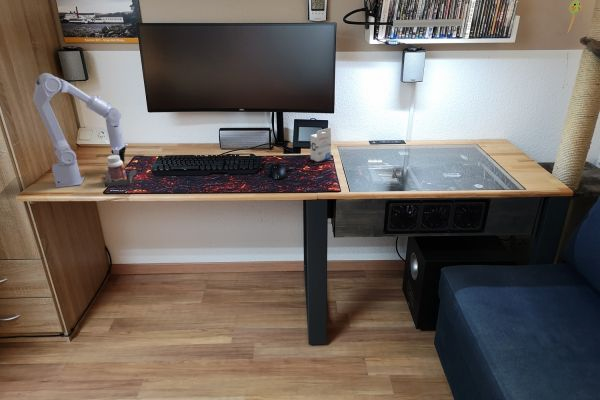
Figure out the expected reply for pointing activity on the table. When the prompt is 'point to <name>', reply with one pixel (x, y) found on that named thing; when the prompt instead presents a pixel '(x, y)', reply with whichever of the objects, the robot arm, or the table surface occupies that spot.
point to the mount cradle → (118, 182)
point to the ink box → (321, 145)
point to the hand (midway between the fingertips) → (121, 164)
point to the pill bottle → (116, 168)
